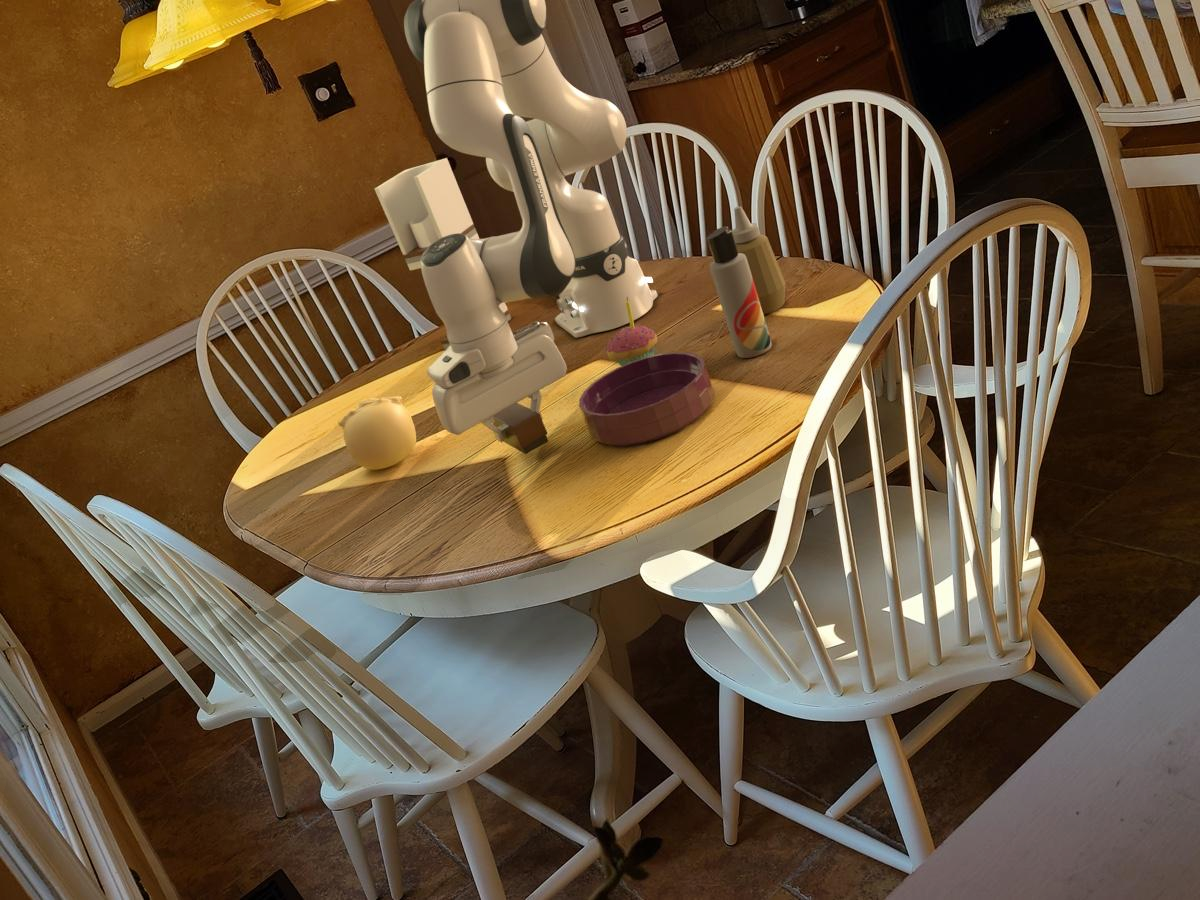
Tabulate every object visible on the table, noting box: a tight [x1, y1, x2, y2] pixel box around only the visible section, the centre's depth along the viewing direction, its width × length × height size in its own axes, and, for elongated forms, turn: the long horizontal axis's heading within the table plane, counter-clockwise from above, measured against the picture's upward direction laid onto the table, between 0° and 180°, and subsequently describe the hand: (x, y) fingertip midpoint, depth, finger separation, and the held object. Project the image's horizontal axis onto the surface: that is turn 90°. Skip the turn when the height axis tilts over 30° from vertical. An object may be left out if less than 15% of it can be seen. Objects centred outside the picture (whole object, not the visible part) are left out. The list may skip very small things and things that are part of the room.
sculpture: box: [337, 395, 417, 471], centre depth 182 cm, size 11×12×11 cm
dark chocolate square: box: [492, 402, 549, 455], centre depth 165 cm, size 9×4×5 cm, turn 29°
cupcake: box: [605, 297, 658, 367], centre depth 180 cm, size 9×8×12 cm
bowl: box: [578, 351, 715, 447], centre depth 163 cm, size 19×19×6 cm
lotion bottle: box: [706, 225, 772, 359], centre depth 169 cm, size 6×6×20 cm
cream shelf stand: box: [374, 157, 512, 351], centre depth 224 cm, size 11×11×35 cm
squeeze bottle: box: [731, 205, 786, 315], centre depth 183 cm, size 8×8×18 cm
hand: (520, 430), depth 165 cm, fingers closed on dark chocolate square, 4 cm apart
